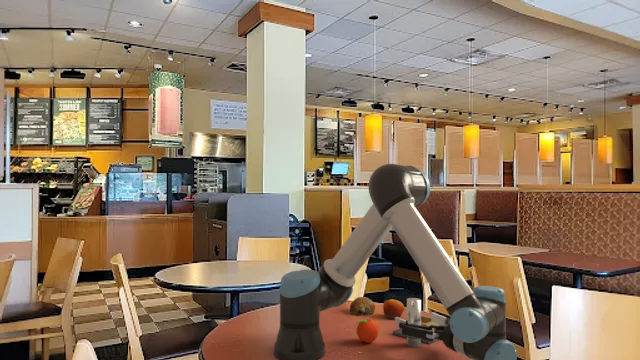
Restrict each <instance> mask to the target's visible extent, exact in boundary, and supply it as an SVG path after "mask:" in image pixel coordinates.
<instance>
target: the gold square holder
mask: <svg viewBox="0 0 640 360" xmlns="http://www.w3.org/2000/svg"><path fill="white" fill-rule="evenodd" d="M403 320H406V321H407V317H406V318H404V319H403ZM421 325H423V326H430V325H436V326H439V324H437V323H434V322H432V321H431V316H427V315H422V314H421ZM434 329H435V328H432V332H433V333H434ZM392 335H395V336H399V337H402V338H406V339H407V335H403V334H402V329H400V328H397V329H395V330H392ZM438 341H439V340H438V339H434V338H433V341H432V342H431V341H428V340H425V339H421V343H424V344H427V345H431V344H433V343H435V342H438Z"/></svg>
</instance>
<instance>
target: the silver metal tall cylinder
mask: <svg viewBox="0 0 640 360" xmlns="http://www.w3.org/2000/svg"><path fill="white" fill-rule="evenodd" d="M421 315H422V299H421V298H416V297H409V298H406V318H407V321H408V322H410V324H415V325H421ZM406 346H408V347H410V348H419V347H422V342H421V338H417V337H412V336H408V335H407V338H406Z"/></svg>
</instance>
